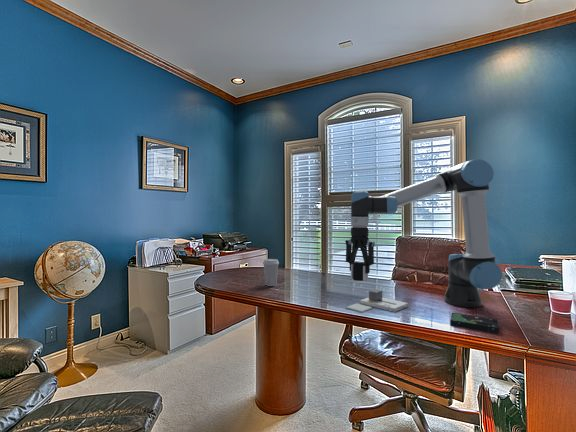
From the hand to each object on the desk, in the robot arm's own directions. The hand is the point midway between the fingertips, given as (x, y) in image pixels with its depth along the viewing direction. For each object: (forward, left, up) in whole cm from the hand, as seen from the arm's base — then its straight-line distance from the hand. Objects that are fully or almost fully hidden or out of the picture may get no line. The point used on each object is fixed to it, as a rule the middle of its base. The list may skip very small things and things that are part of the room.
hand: (359, 279), depth 129 cm
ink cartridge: (0, 0, -1) cm, 1 cm away
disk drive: (-40, -14, -13) cm, 45 cm away
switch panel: (-5, -13, -13) cm, 19 cm away
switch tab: (-1, -13, -11) cm, 17 cm away
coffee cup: (+59, +1, -13) cm, 60 cm away
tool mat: (0, 0, -13) cm, 13 cm away
